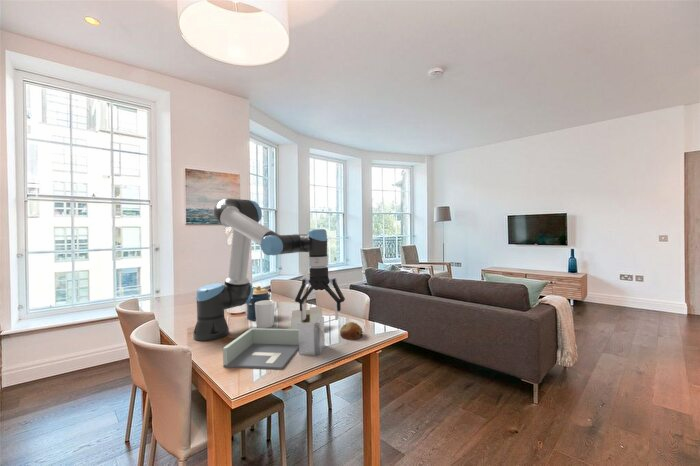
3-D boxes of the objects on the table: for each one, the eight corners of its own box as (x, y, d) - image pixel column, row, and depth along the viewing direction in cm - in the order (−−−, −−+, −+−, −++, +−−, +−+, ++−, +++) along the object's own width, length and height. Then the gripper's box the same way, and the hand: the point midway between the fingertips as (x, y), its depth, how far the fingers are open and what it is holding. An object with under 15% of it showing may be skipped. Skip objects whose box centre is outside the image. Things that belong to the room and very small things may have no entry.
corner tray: (223, 366, 109) (222, 348, 109) (251, 343, 131) (250, 328, 131) (282, 369, 106) (281, 350, 106) (300, 345, 128) (300, 329, 128)
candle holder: (264, 330, 149) (263, 305, 149) (250, 327, 154) (250, 303, 154) (279, 324, 157) (278, 301, 157) (265, 322, 162) (265, 299, 162)
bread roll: (354, 339, 144) (349, 322, 147) (369, 334, 138) (363, 317, 140) (339, 345, 137) (334, 327, 140) (353, 340, 131) (347, 322, 133)
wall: (327, 336, 150) (324, 310, 161) (324, 327, 144) (321, 300, 155) (293, 342, 149) (293, 316, 160) (289, 333, 143) (289, 307, 154)
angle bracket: (319, 355, 118) (318, 324, 118) (299, 354, 119) (298, 323, 119) (324, 345, 128) (323, 316, 128) (306, 344, 129) (305, 316, 129)
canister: (263, 312, 181) (262, 283, 181) (275, 316, 172) (274, 285, 172) (242, 317, 172) (241, 286, 171) (254, 322, 163) (253, 289, 162)
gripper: (286, 268, 122) (287, 321, 122) (347, 267, 119) (349, 321, 119) (292, 266, 130) (293, 316, 130) (350, 265, 126) (352, 316, 126)
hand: (320, 319), depth 124 cm, fingers open, 13 cm apart
